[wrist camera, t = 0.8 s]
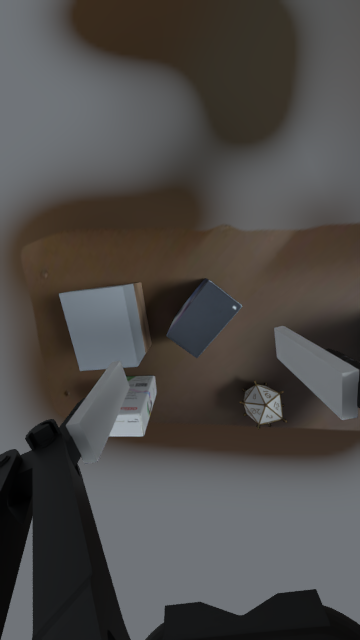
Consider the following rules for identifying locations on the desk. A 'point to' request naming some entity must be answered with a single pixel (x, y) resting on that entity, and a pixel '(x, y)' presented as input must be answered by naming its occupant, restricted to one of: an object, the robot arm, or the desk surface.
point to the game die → (263, 404)
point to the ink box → (136, 407)
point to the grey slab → (104, 326)
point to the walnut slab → (142, 315)
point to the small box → (202, 318)
